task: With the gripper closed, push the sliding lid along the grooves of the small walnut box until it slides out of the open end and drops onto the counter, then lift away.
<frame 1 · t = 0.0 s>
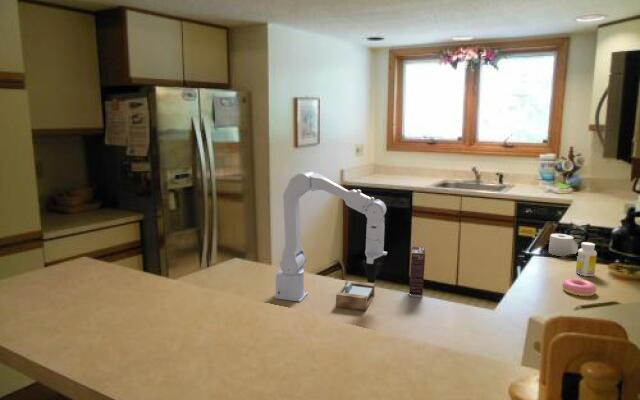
hand: (373, 278, 158), 10 cm above the countertop, tool pointing down, fingers open, 7 cm apart
supplement box: (416, 293, 173), on the countertop
doughnut: (578, 292, 176), on the countertop
toilet tissue: (563, 255, 221), on the countertop
lid: (357, 293, 164), point 3 cm above the countertop, touching box
box: (355, 301, 164), on the countertop
supplement bottle: (584, 274, 194), on the countertop
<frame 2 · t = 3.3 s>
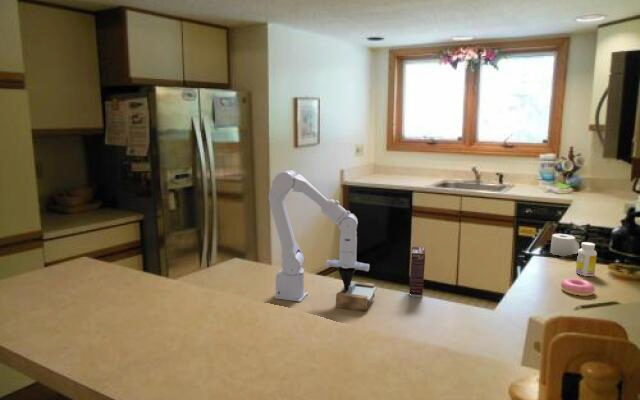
hand: (347, 288, 164), 4 cm above the countertop, tool pointing down, fingers closed
lid: (360, 293, 163), point 3 cm above the countertop, touching gripper
everything else where it was.
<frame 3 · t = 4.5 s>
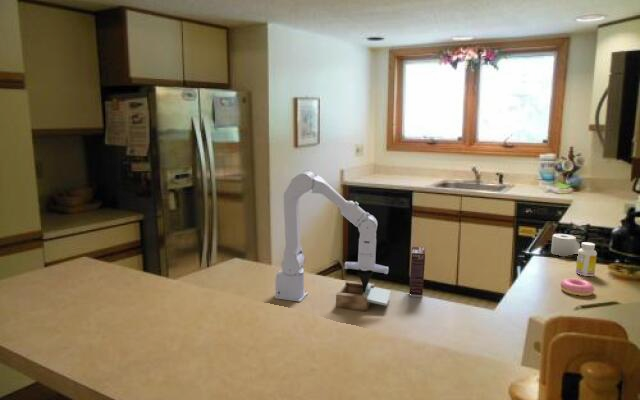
hand: (365, 291, 163), 4 cm above the countertop, tool pointing down, fingers closed, pressing on lid
lid: (376, 296, 162), point 3 cm above the countertop, tilted 7°, touching box, gripper
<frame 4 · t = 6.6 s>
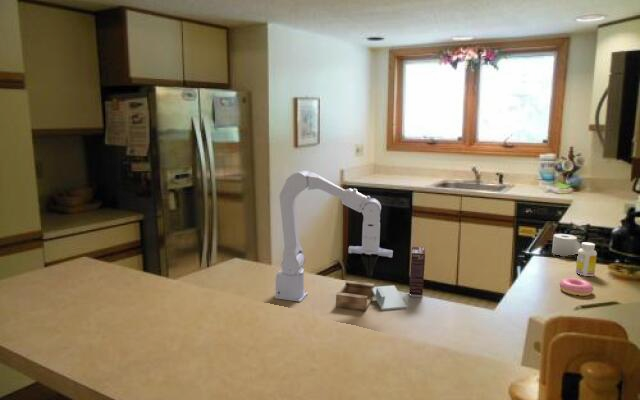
hand: (369, 275, 161), 10 cm above the countertop, tool pointing down, fingers closed
lid: (388, 298, 163), point 2 cm above the countertop, tilted 16°, touching box
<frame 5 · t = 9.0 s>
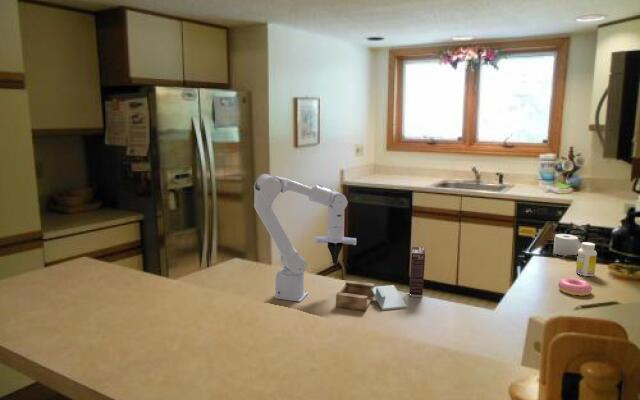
hand: (335, 263, 172), 10 cm above the countertop, tool pointing down, fingers closed
at the end: lid inside the target area (3.0 cm from its centre), point 1.6 cm above the countertop; lid touching box, countertop; lid tilted 16° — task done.
